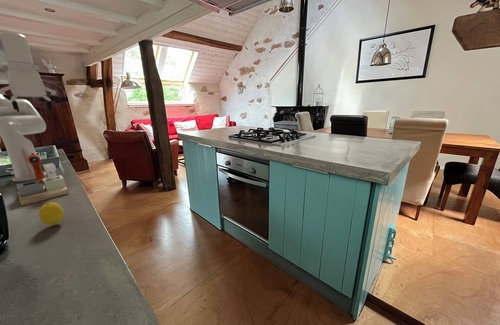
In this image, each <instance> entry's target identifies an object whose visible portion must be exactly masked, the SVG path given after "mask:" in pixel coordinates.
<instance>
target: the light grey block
mask: <svg viewBox="0 0 500 325" xmlns="http://www.w3.org/2000/svg"><path fill="white" fill-rule="evenodd" d="M42 166H43V170H44V172H46V174H47V175H48V177H47V178H49V180H50V181H51V180H55V179H57V177H56V176H57V174H56V171H57V167H56V165H55V164H54V163H53V162H51V163H50V162H49V163H44V164H42Z"/></svg>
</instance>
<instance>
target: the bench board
mask: <svg viewBox="0 0 500 325" xmlns="http://www.w3.org/2000/svg"><path fill="white" fill-rule="evenodd" d="M43 188H44V191H45V192H44V193H40V194H35V195H31V196H27V197H23V198H21V197H20V195H19V192H18V191H17V193H18V199H19V202H20V205H21V206H26V205H31V204H34V203H38V202H40V201H41V202H42V201H44V200H49V199H53V198H56V197H61V196H63V195H64V196H65V195H68V194H70V192H69V189H68V187H67V186H66V187H63V188H59V189H55V190H51V191H47V190H46V188H45V186H44V185H43Z"/></svg>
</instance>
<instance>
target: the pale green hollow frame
mask: <svg viewBox="0 0 500 325" xmlns="http://www.w3.org/2000/svg"><path fill="white" fill-rule="evenodd" d="M56 177H57V179H55V180H51V181H50V180H49V177H47V178H45V179H42V180H43V186H45V188H46V190H47V191H51V190H55V189H59V188H63V187H66V188H67V185H66V182H65V178H64V177H63V175H61V174H60V175H56Z"/></svg>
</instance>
